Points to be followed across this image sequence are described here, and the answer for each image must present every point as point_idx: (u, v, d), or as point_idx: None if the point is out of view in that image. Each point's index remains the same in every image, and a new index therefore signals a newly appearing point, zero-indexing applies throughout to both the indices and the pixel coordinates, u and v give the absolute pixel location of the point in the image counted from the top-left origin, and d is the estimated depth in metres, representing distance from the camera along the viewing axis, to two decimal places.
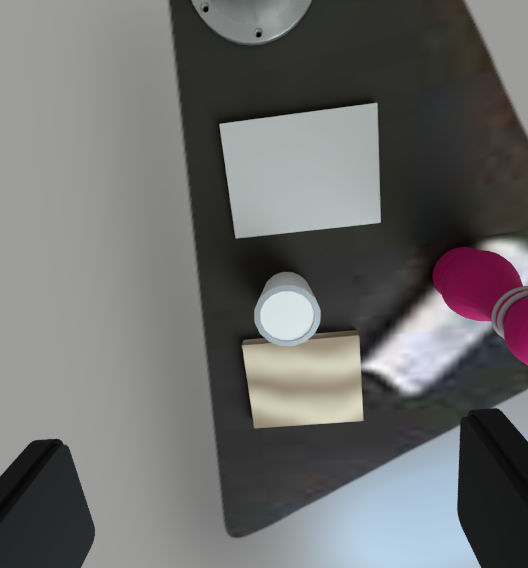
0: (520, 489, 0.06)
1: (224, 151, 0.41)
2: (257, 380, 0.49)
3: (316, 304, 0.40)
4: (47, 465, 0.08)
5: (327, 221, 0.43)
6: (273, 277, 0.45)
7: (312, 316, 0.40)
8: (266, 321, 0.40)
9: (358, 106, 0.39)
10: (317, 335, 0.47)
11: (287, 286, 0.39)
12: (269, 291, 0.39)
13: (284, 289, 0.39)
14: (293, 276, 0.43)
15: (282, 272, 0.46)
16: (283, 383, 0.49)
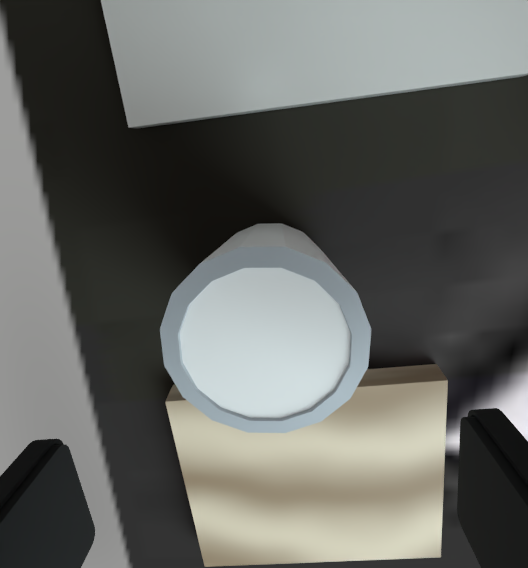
0: (520, 489, 0.06)
1: None
2: (205, 476, 0.21)
3: (359, 310, 0.12)
4: (47, 465, 0.08)
5: (382, 71, 0.15)
6: (234, 235, 0.17)
7: (344, 348, 0.12)
8: (200, 362, 0.13)
9: None
10: None
11: (263, 250, 0.12)
12: (203, 268, 0.12)
13: (253, 261, 0.12)
14: (285, 230, 0.16)
15: (258, 224, 0.18)
16: (264, 482, 0.21)
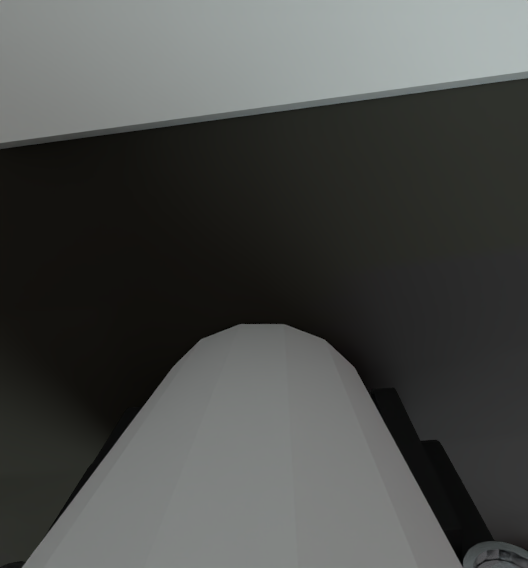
0: None
1: None
2: None
3: None
4: None
5: (510, 24, 0.07)
6: (191, 358, 0.09)
7: None
8: None
9: None
10: None
11: None
12: None
13: None
14: (293, 366, 0.07)
15: (240, 328, 0.09)
16: None
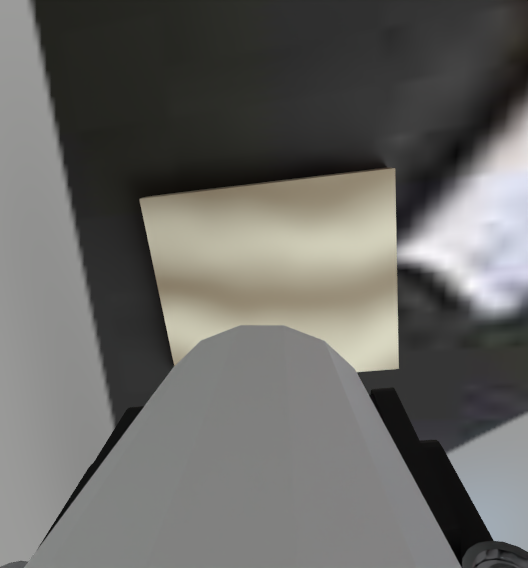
0: None
1: None
2: (177, 281, 0.23)
3: None
4: None
5: None
6: (190, 359, 0.09)
7: None
8: None
9: None
10: (302, 178, 0.22)
11: None
12: None
13: None
14: (293, 368, 0.07)
15: (240, 329, 0.09)
16: (232, 287, 0.23)
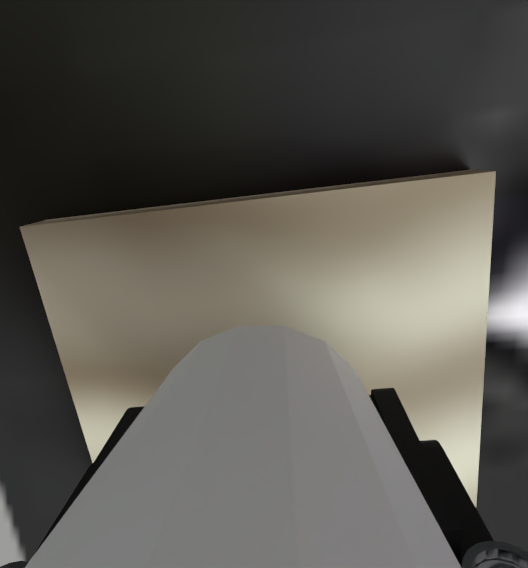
0: None
1: None
2: (99, 367, 0.13)
3: None
4: None
5: None
6: (191, 360, 0.09)
7: None
8: None
9: None
10: (317, 189, 0.12)
11: None
12: None
13: None
14: (294, 368, 0.07)
15: (240, 330, 0.09)
16: None
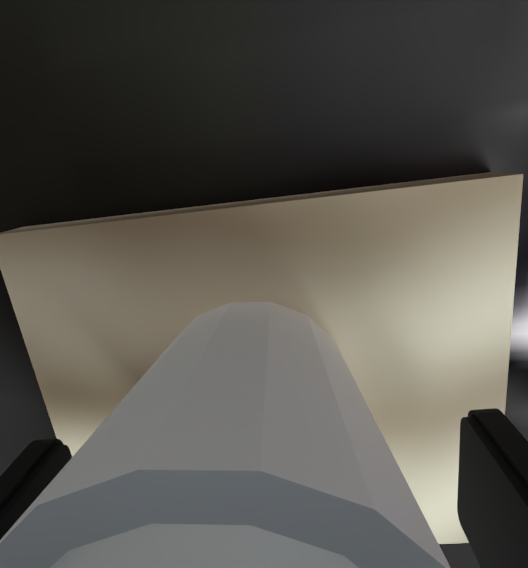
0: (520, 489, 0.06)
1: None
2: (80, 389, 0.12)
3: None
4: (47, 465, 0.08)
5: None
6: (187, 330, 0.10)
7: None
8: None
9: None
10: (321, 194, 0.11)
11: (200, 481, 0.04)
12: (49, 515, 0.04)
13: (175, 504, 0.04)
14: (275, 331, 0.09)
15: (231, 305, 0.11)
16: None
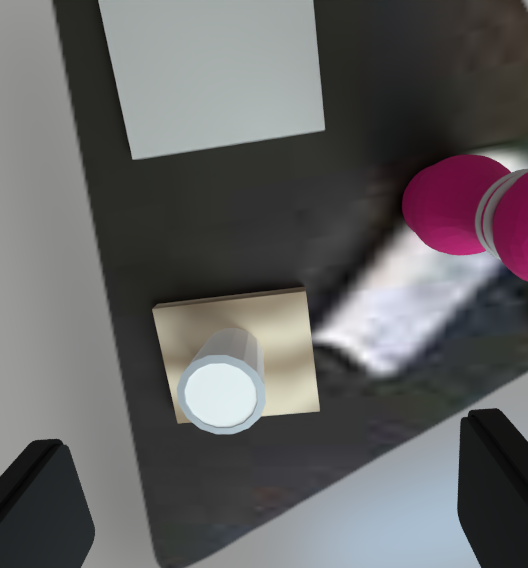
0: (520, 489, 0.06)
1: (107, 34, 0.30)
2: (176, 357, 0.37)
3: (258, 379, 0.29)
4: (47, 465, 0.08)
5: (252, 130, 0.31)
6: (212, 336, 0.35)
7: (254, 395, 0.29)
8: (194, 402, 0.30)
9: None
10: (252, 294, 0.36)
11: (217, 356, 0.29)
12: (194, 363, 0.29)
13: (214, 360, 0.29)
14: (235, 336, 0.33)
15: (225, 329, 0.35)
16: None
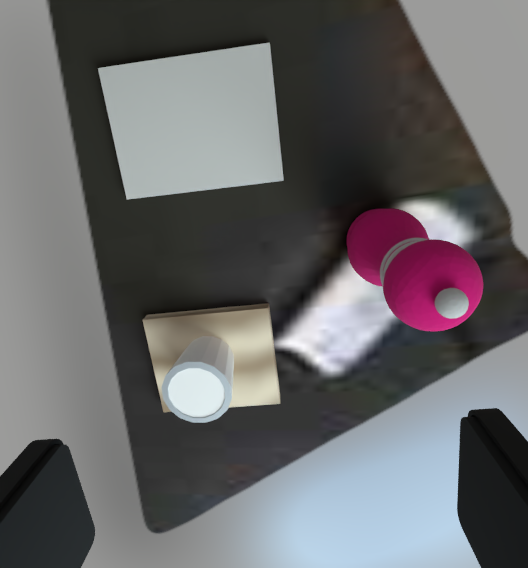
0: (520, 489, 0.06)
1: (106, 99, 0.37)
2: (162, 359, 0.45)
3: (226, 380, 0.37)
4: (47, 465, 0.08)
5: (225, 179, 0.39)
6: (191, 343, 0.42)
7: (223, 392, 0.38)
8: (175, 398, 0.38)
9: (249, 46, 0.35)
10: (225, 309, 0.43)
11: (193, 363, 0.37)
12: (175, 368, 0.37)
13: (190, 366, 0.37)
14: (210, 344, 0.41)
15: (202, 337, 0.43)
16: None
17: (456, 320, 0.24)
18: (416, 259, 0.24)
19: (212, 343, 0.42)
